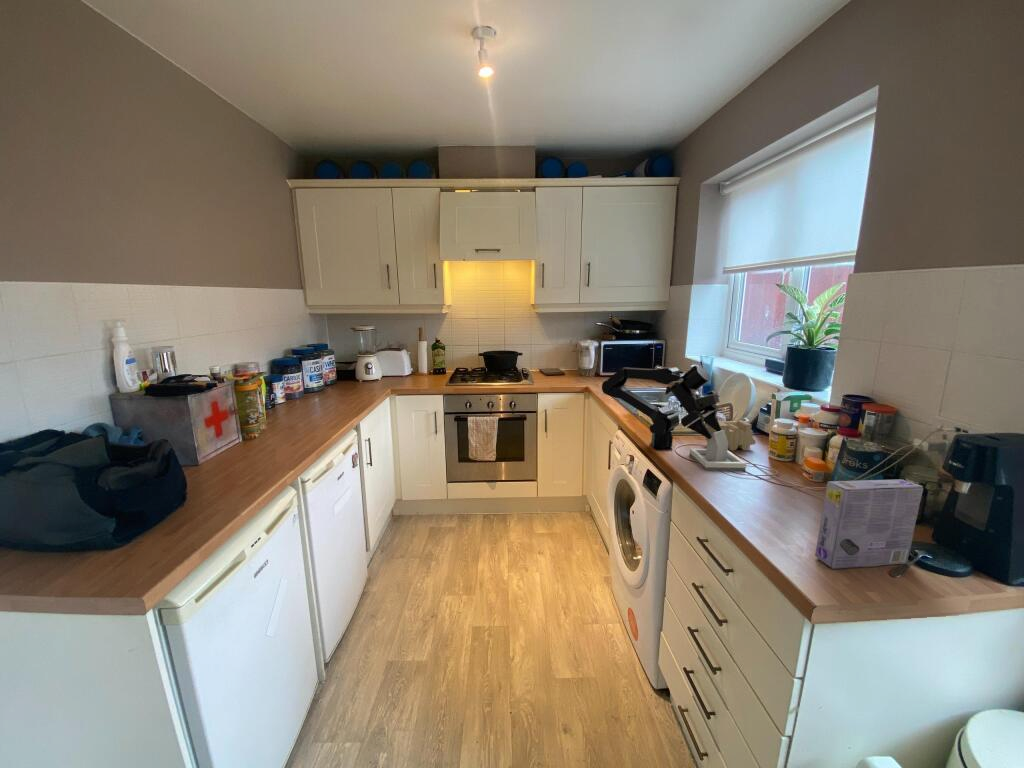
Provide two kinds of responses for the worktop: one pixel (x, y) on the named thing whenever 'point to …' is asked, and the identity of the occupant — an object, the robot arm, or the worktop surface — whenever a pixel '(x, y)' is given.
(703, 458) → the tray
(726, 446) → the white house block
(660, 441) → the robot arm
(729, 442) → the toy train
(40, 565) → the worktop surface
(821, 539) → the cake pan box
